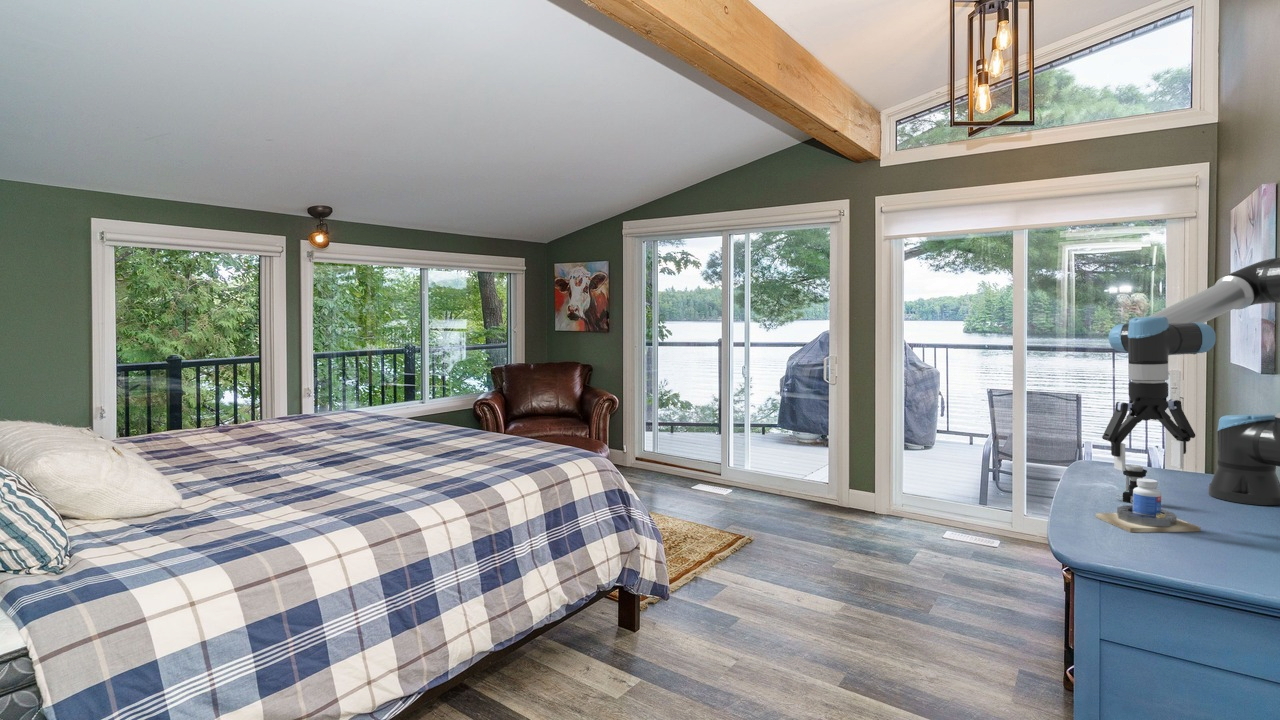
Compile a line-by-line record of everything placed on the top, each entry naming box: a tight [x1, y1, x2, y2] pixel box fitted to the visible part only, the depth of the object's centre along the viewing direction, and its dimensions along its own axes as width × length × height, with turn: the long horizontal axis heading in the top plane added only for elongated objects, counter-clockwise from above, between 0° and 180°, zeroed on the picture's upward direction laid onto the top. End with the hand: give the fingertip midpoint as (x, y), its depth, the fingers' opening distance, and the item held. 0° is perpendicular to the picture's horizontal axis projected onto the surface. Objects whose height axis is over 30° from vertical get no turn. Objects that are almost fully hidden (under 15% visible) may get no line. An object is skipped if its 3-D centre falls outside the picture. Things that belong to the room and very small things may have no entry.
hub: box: [1116, 505, 1178, 527], centre depth 156 cm, size 11×11×3 cm
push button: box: [1115, 464, 1148, 504], centre depth 175 cm, size 7×5×10 cm
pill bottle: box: [1132, 477, 1162, 516], centre depth 156 cm, size 6×5×10 cm
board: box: [1095, 512, 1201, 533], centre depth 156 cm, size 16×12×1 cm
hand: (1148, 468), depth 156 cm, fingers open, 13 cm apart
